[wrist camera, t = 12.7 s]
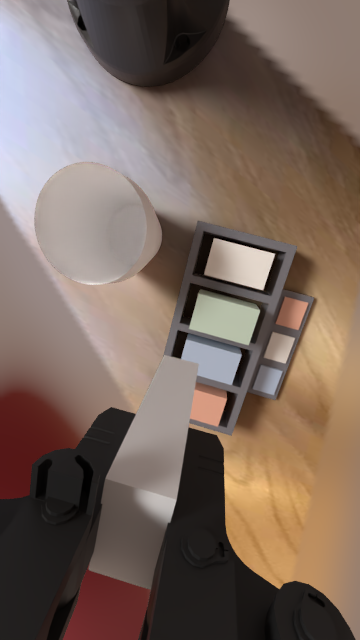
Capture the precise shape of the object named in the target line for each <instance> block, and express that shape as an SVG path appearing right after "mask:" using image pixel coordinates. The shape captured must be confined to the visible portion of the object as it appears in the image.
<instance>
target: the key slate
mask: <svg viewBox="0 0 360 640" xmlns="http://www.w3.org/2000/svg"><path fill="white" fill-rule="evenodd" d="M241 356H242V354H241V350H240V347H237V346H234V345H230V344H226V343H223V342H219V341H216V340H212V339H209V338H205V337H201V336H198V335H194V334H191V333H188V336H187V339H186V342H185V346H184V350H183V353H182V357H181V359H182V360H186V361H190V362H194V363H198V364H199V366H198V372H197V375H198V376H201V377H205V378H208V379H212V380H215V381H219V382H222V383H226V384H229V385H232V383H233V380H234V377H235V374H236V371H237V368H238V365H239V362H240V359H241Z"/></svg>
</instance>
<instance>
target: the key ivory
mask: <svg viewBox="0 0 360 640" xmlns="http://www.w3.org/2000/svg"><path fill="white" fill-rule="evenodd" d="M274 256H275V254H274V253H270V252H266V251H262V250H258V249H254V248H251V247H247V246H243V245H239V244H235V243H231V242H227V241H224V240H220V239H216V238H214V240H213V243H212V247H211V251H210V254H209V258H208V262H207V265H206V269H205V273H204V275H207V276H211V277H215V278H219V279H222V280H226V281H230V282H234V283H237V284H241V285H245V286H249V287H252V288H256V289H260V290H263V289H264V286H265V283H266V280H267V277H268V274H269V271H270V268H271V265H272V262H273V259H274Z"/></svg>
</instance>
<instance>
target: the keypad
mask: <svg viewBox="0 0 360 640" xmlns="http://www.w3.org/2000/svg"><path fill="white" fill-rule="evenodd" d="M205 233H206V234H210V235H214V236H217V237H221V238H225V239H229V240H233V241H237V242H241V243H244V244H248V245H252V246H256V247H260V248H264V249H268V250H272V251H275V252H279V254H278V256H277V259H276V262H275V265H274V268H273V271H272V274H271V277H270V280H269V283H268V286H267V289H266V292H264V291H261V290H257V289H253V288H249V287H246V286H242V285H238V284H234V283H231V282H227V281H223V280H219V279H216V278H212V277H208V276H204V275H201V274H197V273H194V272H195V268H196V265H197V261H198V257H199V253H200V249H201V246H202V242H203V238H204V234H205ZM296 249H297V246H295V245H291V244H287V243H283V242H279V241H275V240H271V239H267V238H263V237H260V236H256V235H252V234H248V233H244V232H240V231H236V230H232V229H228V228H224V227H221V226H217V225H213V224H209V223H205V222H201V221H198V222H197V226H196V230H195V234H194V238H193V242H192V246H191V250H190V253H189V257H188V261H187V265H186V269H185V273H184V277H183V281H182V285H181V289H180V293H179V297H178V301H177V304H176V308H175V312H174V316H173V320H172V324H171V328H170V332H169V336H168V340H167V344H166V348H165V352H164V355H167V356H171V357H174V356H173V352H174V348H175V344H176V340H177V337H178V333H179V330H180V331H184V332H187V333H191V334H194V335H198V336H201V337H205V338H209V339H212V340H216V341H219V342H223V343H226V344H230V345H234V346H237V347H241V348H244V349H246V352H245V355H244V358H243V361H242V364H241V367H240V370H239V373H238V375H237V374H235V377H234V380H233V383H232V385H229V384H226V383H222V382H219V381H215V380H212V379H208V378H205V377H201V376H198V375H197V378H196V382H198V383H202V384H205V385H209V386H212V387H216V388H219V389H223V390H226V391H230V392H232V394H231V397H230V400H229V403H228V406H227V409H226V411H223V413H222V416H221V419H220V422H219V425H218V427H217V426H214V425H210V424H207V423H203V422H200V421H197V420H193V419H190V421H189V423H191V424H194V425H198V426H201V427H204V428H208V429H211V430H214V431H218V432H221V433H224V434H228V435H231V436H232V433H233V430H234V427H235V424H236V421H237V418H238V416H239V413H240V410H241V407H242V404H243V401H244V398H245V395H246V393H247V390H248V387H249V384H250V381H251V378H252V375H253V373H254V370H255V367H256V364H257V361H258V358H259V355H260V352H261V350H262V347H263V344H264V341H265V338H266V335H267V332H268V329H269V327H270V324H271V321H272V318H273V315H274V312H275V309H276V307H277V304H278V301H279V298H280V295H281V292H282V289H283V286H284V284H285V281H286V278H287V275H288V272H289V269H290V266H291V264H292V261H293V258H294V255H295V252H296ZM192 283H193V284H197V285H201V286H204V287H208V288H212V289H216V290H219V291H223V292H227V293H230V294H234V295H238V296H242V297H245V298H249V299H253V300H256V301H260V302H262V304H261V307H260V313H259V316H258V319H257V322H256V325H255V328H254V331H253V334H252V337H251V340H250V343H249V345H245V344H242V343H238V342H234V341H231V340H227V339H224V338H220V337H216V336H213V335H209V334H206V333H202V332H199V331H195V330H191V329H189V326H190V323H191V319H192V318H188V317H185V316H183V314H184V310H185V306H186V302H187V299H188V295H189V291H190V287H191V284H192ZM164 355H163V357H164ZM175 358H178V357H175ZM178 359H181V358H178Z"/></svg>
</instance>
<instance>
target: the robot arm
mask: <svg viewBox="0 0 360 640" xmlns="http://www.w3.org/2000/svg"><path fill="white" fill-rule="evenodd" d="M67 2H68V5H69V9H70V12H71V15H72V18H73V20H74V23H75V25H76V27H77V29H78V31H79V33H80V35H81V37H82V39H83V40H84V42H85V43H86V45H87V47H88V48H89V50H90V52H91V53H92V55H93V56H94V57H95V59H96V60H97V61H98V62H99V64H100V65H101V66H102V67H103V68H104V69H105V70H107V71H108V72H109V73H110V74H112V75H113V76H115V77H116V78H118V79H120V80H122V81H124V82H127V83H130V84H133V85H138V86H158V85H163V84H167V83H170V82H172V81H175V80H177V79H179V78H181V77H182V76H184V75H185V74H187V73H188V72H190V71H191V70H192V69H194V68H195V67H196V66H197V65H198V64H199V63H200V62H201V61H202V60H203V59H204V57H205V56H206V55H207V54H208V52H209V51H210V50H211V48H212V46H213V45H214V43H215V41H216V40H217V38H218V36H219V34H220V32H221V29H222V27H223V24H224V21H225V18H226V15H227V11H228V6H229V0H67ZM198 366H199V364H198V363H194V362H190V361H186V360H182V359H178V358H175V357H171V356H167V355H164V357H163V359H162V361H161V363H160V365H159V367H158V369H157V371H156V373H155V376H154V378H153V380H152V382H151V384H150V386H149V388H148V390H147V392H146V394H145V396H144V399H143V401H142V403H141V405H140V407H139V409H138V411H137V413H136V414H134V413H130V412H126V411H123V410H119V409H115V408H112V407H111V408H109V409H108V410H106V411H104V412H103V413H101V414H99V415H98V417H97V418H96V420H95V421H94V422H93V424H92V426H91V428H89V430H88V431H87V433H86V434H85V436H84V438H82V440H81V441H80V443H79V444H78V446H77V447H76V449H70V448H67V449H60V450H55V451H52V452H50V453H48V454H45V455H43V456H42V457H41V458H39V459H38V460H37V461H36V462H35V463H34V464H32V473H31V485H30V495H29V496H26V497H23V498H15V499H0V640H63V637H64V635H65V632H66V629H67V627H68V624H69V622H70V619H71V617H72V614H73V611H74V608H75V606H76V604H77V600H78V596H79V591H80V586H81V582H82V580H83V577H84V575H85V572H86V570H87V567H88V565H89V562H90V565H89V570H90V571H93V572H96V573H99V574H103V575H106V576H109V577H112V578H115V579H118V580H121V581H125V582H128V583H131V584H134V585H137V586H140V587H144V588H147V589H150V590H151V592H150V597H149V602H148V607H147V611H146V614H145V618H144V621H143V625H142V628H141V632H140V635H139V639H138V640H355V638H354V636H353V634H352V632H351V630H350V628H349V626H348V625H347V623H346V622H345V620H344V618H343V617H342V615H341V613H340V612H339V610H338V609H337V608H336V607H335V606H334V605H333V603H332V602H330V600H329V599H328V598H327V597H326V596H325V595H324V594H323V593H321V592H320V591H318V590H316V589H315V588H313V587H312V586H310V585H309V584H305V583H301V582H297V581H293V582H289V583H285V584H283V586H282V587H281V588H280V589H278V588H276V587H275V586H274V585H272V584H271V583H269V582H268V581H266V580H265V579H263V578H262V577H260V576H259V575H258V574H256V573H255V572H253V571H252V570H251V569H250V568H249V567H247V566H246V565H245V564H244V563H243V562H242V561H241V560H240V558H239V557H238V556H237V555H236V553H235V552H234V550H233V548H232V546H231V544H230V542H229V539H228V537H227V533H226V526H225V489H224V465H223V464H224V448H223V446H222V444H221V442H220V441H219V439H218V437H217V435H214V434H210V433H206V432H203V431H199V430H196V429H192V428H188V427H189V421H190V415H191V409H192V403H193V396H194V390H195V384H196V378H197V372H198Z"/></svg>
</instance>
